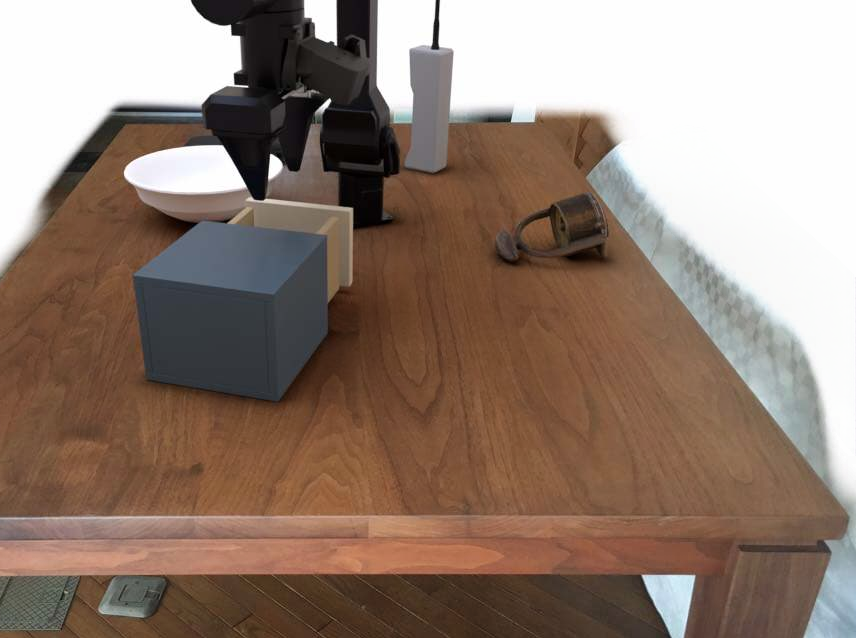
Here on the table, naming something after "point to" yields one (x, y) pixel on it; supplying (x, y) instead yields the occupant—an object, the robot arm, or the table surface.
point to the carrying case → (215, 141)
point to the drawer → (309, 230)
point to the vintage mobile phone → (430, 103)
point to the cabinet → (233, 308)
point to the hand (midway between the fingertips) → (277, 185)
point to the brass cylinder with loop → (562, 229)
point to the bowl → (194, 182)
